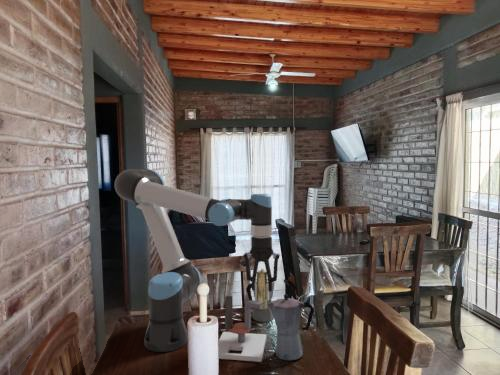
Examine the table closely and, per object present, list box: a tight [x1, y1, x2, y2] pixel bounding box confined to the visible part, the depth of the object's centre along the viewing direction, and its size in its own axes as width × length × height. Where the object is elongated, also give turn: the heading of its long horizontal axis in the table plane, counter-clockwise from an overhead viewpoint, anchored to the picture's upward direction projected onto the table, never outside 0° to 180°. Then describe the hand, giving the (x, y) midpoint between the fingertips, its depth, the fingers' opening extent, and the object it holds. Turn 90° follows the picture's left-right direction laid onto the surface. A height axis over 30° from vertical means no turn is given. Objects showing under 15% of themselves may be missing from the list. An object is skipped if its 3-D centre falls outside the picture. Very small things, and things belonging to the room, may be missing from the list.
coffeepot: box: [245, 278, 276, 323], centre depth 146 cm, size 15×9×18 cm, turn 129°
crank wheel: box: [224, 295, 263, 343], centre depth 123 cm, size 14×6×15 cm, turn 64°
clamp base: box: [218, 331, 267, 363], centre depth 122 cm, size 16×16×2 cm
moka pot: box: [267, 293, 315, 361], centre depth 117 cm, size 10×15×20 cm, turn 81°
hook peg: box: [256, 268, 268, 309], centre depth 131 cm, size 4×4×14 cm
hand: (262, 299), depth 131 cm, fingers closed on hook peg, 3 cm apart
